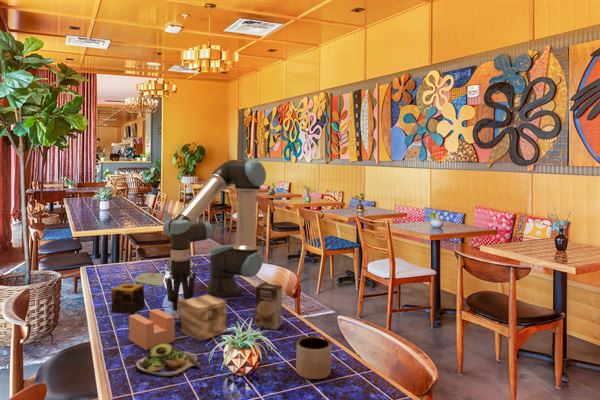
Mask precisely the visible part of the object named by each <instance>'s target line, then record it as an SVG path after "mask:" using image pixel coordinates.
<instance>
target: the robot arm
mask: <svg viewBox="0 0 600 400" xmlns="http://www.w3.org/2000/svg"><path fill="white" fill-rule="evenodd" d="M266 179H267V172H266V169H265V167H264V165H263V164H262V163H261V162H260V161H259V160H253V159H231V160H227V161H225V162H224V163H222V164H221V165H219V166H218V167H217V168H216V169H215V170H214V171H212V173H211V174H210V175H209V177H208V180H207V181H206V182H205V184H204V185H203V186H202V187H201V189H200V190H198V192H196V194H195V195H194V196H193V197H192V198H191V199H190V200H189V202H188V203H187V204H186V205H185V206H184V207H183V209H181V211H180V212H179V213H178V214H177V216H175V217H174V218H170V219H167V220H165V222H164V223H163V226H162V227H163V229H162V230H163V233H164V234H165V236H167V237H169V238H170V259H171V260H170V270H171V272H170V276H169V277H168V278H165V282H166V285H165V286H166V294H167V301H168V302H170V303H172V311H174V314H173V316H174V319H177V320H179V319H180V320H181V309H180V303H179V302H178V298H179V296H180V295H179V293H180V288H181V287H182V292H183V299H186V300H187V299H191V298H194V294H195V282H196V276H197V273H195V272H193V271H191V259H190V258H191V243H196V242H201V241H206V240H209V239H211V238H212V236H213V234H214V226H213V225H212V224H211V223H210V222H209V221H200V222H198V221H197V220H198V219H199V217H200V216H202V214H204V212H205V211H206V209H207V208H208V207H209V206H210V205H211V204H212V202H213V201H214V200H215V199H216V198H217V197H218V195H219V194H220V193H222V192H221V191H225V190H226V189H227V188H228V187H230V186H232V185H234V189H235V191H236V192H237V214H236V236H235V237H236V240H235V244H223V245H219V246H218V245H217V246H214V247H211V249H210V255H209V259H210V260H209V265H210V268H209V269H210V270H209V271H210V275H209V276H210V278H209V281H208V284H207V287H206V295H207V294H208V295H211V296H213V297H216V298H229V297H233V296H236V295H237V294H239V286H238V283H237V280H236V277H235V275H236V276H241V277H243V278H253V277H255V276H257V275H258V273H259V272H260V271H261V269H262V266H263V257H262V255H261V254H260V253H259V252H258V247H257V245H256V244H255V243H256V242H255V241H256V223H257V222H256V221H257V220H256V218H257V217H256V216H257V194H258V192H259V191H261V187H262V186H263V185H264V184H265V182H266ZM196 221H197V222H196ZM180 286H181V287H180Z"/></svg>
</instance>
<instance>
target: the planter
mask: <svg viewBox="0 0 600 400" xmlns="http://www.w3.org/2000/svg"><path fill="white" fill-rule="evenodd" d="M295 354H296V359H295V360H296V361H295V372H296V374H297V375H299V376H300V377H302V378H303V379H306V380H310V379H319V380H323V379H326V378H327V377H329V376H330V375H331V372H332V342H331V340H329V339H328V338H326V337H323V336H318V335H314V336H313V335H311V336H304V337H301V338H299V339H298V340H297V341H296V353H295ZM322 378H323V379H322Z"/></svg>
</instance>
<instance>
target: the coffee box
mask: <svg viewBox="0 0 600 400" xmlns="http://www.w3.org/2000/svg"><path fill="white" fill-rule="evenodd" d="M282 298H283V285H280V284H279V285H278V284H271V283H266V282H264V283H263V282H261V283H260V284H258V285H257V286H256V287H255V311H254V312H255V317H254V320H255V321H254V327H255V326H256V328H261V327H264V328H263V329H267V328H270V329H269V330H273V329H276V330H277V329H279V327H280V326H282V305H283V302H282V301H283V300H282Z"/></svg>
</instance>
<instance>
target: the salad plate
mask: <svg viewBox="0 0 600 400" xmlns="http://www.w3.org/2000/svg"><path fill="white" fill-rule="evenodd" d="M197 360H198V357H197V355H196V354H195V353H192V352H188V351H182V350H181V349H179V348H178V347H176V346H173V345H172V344H170V343H161V344H158V345H156V346H154V347H153V348H151V349H149V354H148V355H146V356H144V357H143V358H141V359H139V360H138V361H136V363H135V368H136V370H138V371H139V372H140V373H143V374H148V375H151V376H152V375H153V376H162V377H171V376H177V375H180V374H183V373H185V372H186V371H187V370H189V369H191V368H193V367H199V366H201V364H200V362H198V361H197ZM167 369H168V370H169V369H171V370H174V371H170V372H169V371H167V372H159V371H163V370H167Z"/></svg>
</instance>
